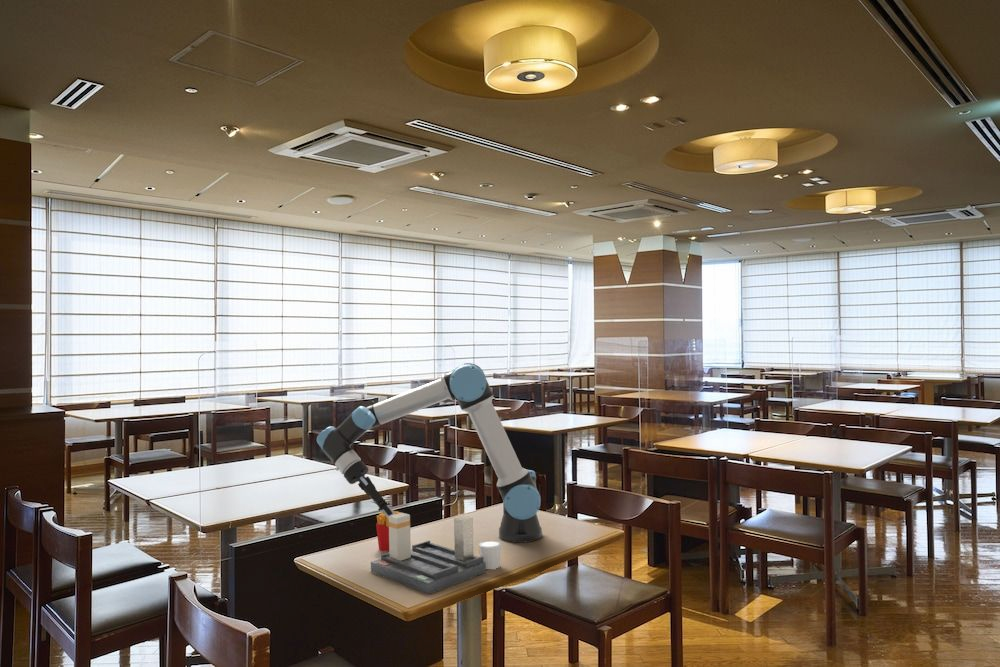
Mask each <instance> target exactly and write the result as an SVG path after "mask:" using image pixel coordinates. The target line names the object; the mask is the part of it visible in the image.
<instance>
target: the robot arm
mask: <svg viewBox="0 0 1000 667" xmlns="http://www.w3.org/2000/svg"><path fill="white" fill-rule="evenodd" d="M494 396H495V395H494V393H493V391H492V389H491V386H490V384H489V382H488V380H487V378H486V375H485V372H484V371H483V369H482V368H481V367H480V366H479V365H477V364H475V363H470V362H466V363H462V364H461V365H459V366H457V367H456V368H455V369H453V370H451V371H448V372H446V373H444V374H442V375H441V377H440V378H439V379H436V380H434V381H431V382H428V383H426V384H423V385H421V386H418V387H416V388H415V387H414V388H413V389H410V390H407V391H405V392H402V393H400V394H397V395H395V396H392V397H390V398H387V399H385V400H382V401H379V402H376V403H374V404H372V405H371V404H370V405H369V406H366V407H365V406H363V405H360V406H358V407H357V408H356V409H354V410H353V411H352V412H351V413H350V414H349V415H348V417H347V418H345V419H344V420H343V422H341V423H340V424H339V426H337V427H335V426H331V425H330V426H328V427H326V428H325V429H324V430H321V432H320V433H319V434H318V435H317V437H316V442H317V444H318V446H319V447H320V449H321V450H322V451H321V452H323V453H324V454H325V456H326V457H327V458H328V459H329V460H330V461H331V463H333V465H334V466H335V467H336V468H335V470H336V471H339V472H340V473H341V475H343V478H344V479H346V481H347V482H348V484H350V485H353V484H356V483H357V482H358V483H357V484H358V488H360V489H361V491H363V492H364V493H365V494H366V496H368V497H370V499H371V500H373V502H374V503H375V505H377V507H378V509H377V510H378V511H381V513H384V514H385V516H386V517H387V518H388V519H389V516H390V515H394V514H396V513H395V512H394V511H395V510H393V508H392V507H391V506H390V505H391V504H390V502H387V501H386V499H384V497H383V496H382V495H381V494H380V492H379V491H378V490H377V488H376V486H375V484H374V483H373V482H372V480H371V478H370V477H369V476H365V475H367V473H368V471H369V467H368V466H367V465H366V463H365V462H364V461H363V460H361V459H362V458H361V457H360V456H359V455H358V453H357V452H356V451H355V449H353V448H352V447H351V446H352V445H354V443H355V442H356V441H358V439H359V438H361V437H362V436H363V435H364V434H365V433H367V432H368V431H369V430H371V429H374V428H377V427H380V426H381V425H384V424H386V423H389V422H391V421H394V420H396V419H399V418H402V417H404V416H407V415H410V414H413V413H416V412H418V411H420V410H423V409H425V408H429V407H430V406H433V405H436V404H439V403H441V402H444V401H447V400H450V401H454V400H457V403H458V405H459V408H460V409H461V411H462V412H464V413H467V414H468V415H469V418H470V420H471V422H472V425H473V427H474V429H475V431H476V433H477V435H478V437H479V440H480V441H481V444H482V446H483V448H484V451H485V453H486V455H487V456H488V457H487V458H488V459H489V462H490V464H491V465H492V467H493V470H494V471H495V474H496V476H497V478H498V479H497V482H496V488H497V490H498V492H499V494H500V496H501V498H502V505H503V506H502V509H503V512H502V518H501V522H500V527H499V528H498V537H499V539H501V540H502V539H504V540H503V541H505V540H508V541H507V542H510V541H515V542H514V543H529V542H533V541H534V542H535V541H537V540H539V538H540V539H541V538H542V537H543V529H542V526H541V525H540V521H539V518H538V515H537V513H538V511H539V510H540V507H541V501H542V496H541V494H540V491H539V490H538V488H537V482H536V481H537V476H536V472H535V471H534V470H531V469H526V468H524V467H522V465H521V462H520V459H519V458H518V456H517V454H516V451H515V450H514V448H513V445H512V443H511V441H510V439H509V437H508V434H507V432H506V430H505V428H504V426H503V423H502V422H501V420H500V419H501V418H500V417H499V415H498V413H497V410H496V409H495V406H494V404H493V398H494ZM525 541H526V542H525ZM528 541H529V542H528Z"/></svg>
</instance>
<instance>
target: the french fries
mask: <svg viewBox="0 0 1000 667" xmlns="http://www.w3.org/2000/svg"><path fill="white" fill-rule="evenodd" d="M393 511H394V512H395V513H396V514H398V513H401V512H400V511H398V510H393ZM376 520H377V522H376V523H375V525H376V534H377V536H376V537H377V544H378V550H379V551H380V552H389V519H388V518H387V517H386V516H385V514H384V513H383V512H381V513H379V514H378V515H376Z"/></svg>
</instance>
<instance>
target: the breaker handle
mask: <svg viewBox="0 0 1000 667" xmlns="http://www.w3.org/2000/svg"><path fill="white" fill-rule="evenodd" d="M411 544H412V543H411V515H410V514H409V513H406V512H405V513H404V512H400V513H398V514H394V515H390V516H389V550H388V553H389V557H391V558H394V559H397V560H400V561H401V560H404V559H408V558H411V549H412V545H411Z"/></svg>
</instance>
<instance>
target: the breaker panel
mask: <svg viewBox="0 0 1000 667" xmlns="http://www.w3.org/2000/svg"><path fill="white" fill-rule="evenodd" d="M453 528H454V530H453V531H454V533H453V537H454V539H453V540H454V542H453V543H454V548H450V547H447V546H443V545H440V544H437V543H434V542H431V540H426V541H422V542H419V543H416V544H415V543H414V544H413V545H411V558H408V559H404V560H401V561H400V560H397V559H394V558H391V557H389V552H386V553H382V554H380V558H379V559H375V560H372V561H370V572H371V573H373V572H374V573H373V574H375V573H376V574H375V575H378V574H379V576H380V575H381V576H380V577H383V576H384V577H383V578H386V579H388V578H389V579H388V580H391V579H392V580H391V581H393V580H394V582H396V581H397V583H398V582H399V584H402V585H404V586H406V587H409V588H411V589H414V590H418V591H419V592H422V593H425V594H427V595H431V594H433V593H435V592H438V591H441V590H444V589H446V588H448V587H452V586H453V585H457V584H459V583H461V582H465V581H467V579H468V580H470V579H472V578H471V577H473V578H475V577H477V576H476V575H478V576H480V575H479V574H481V575H483V574H485V572H486V573H487V570H486V562H483V557H482V556H481V557H480V556H476V555H474V554H475V552H474V548H475V547H474V518H473V517H472V516H468V515H460V516H457V517H453ZM482 573H483V574H482ZM474 576H475V577H474ZM469 578H470V579H469ZM464 580H465V581H464Z"/></svg>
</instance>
